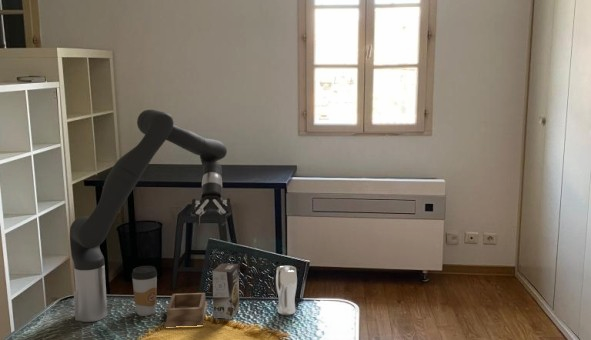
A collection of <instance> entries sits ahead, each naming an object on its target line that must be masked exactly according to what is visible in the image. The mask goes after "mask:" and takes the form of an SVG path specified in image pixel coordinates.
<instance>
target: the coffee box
mask: <svg viewBox="0 0 591 340" xmlns="http://www.w3.org/2000/svg"><path fill="white" fill-rule="evenodd" d="M239 272H240V271H239V263H220V264H219V265H218V266H217V267H216V268H214V269H213V270H212V305H213V306H212V308H213V309H212V311H213V314H212V316H213V317H215V318H214V319H218V318H225V319H224V320H228V319H231V320H232V319H233V318H234V317H235V315H236V314H237V313H238V312H237V311H240V287H239V285H240V283H239V281H240V280H239V279H240V278H239V277H240V276H239Z"/></svg>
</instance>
